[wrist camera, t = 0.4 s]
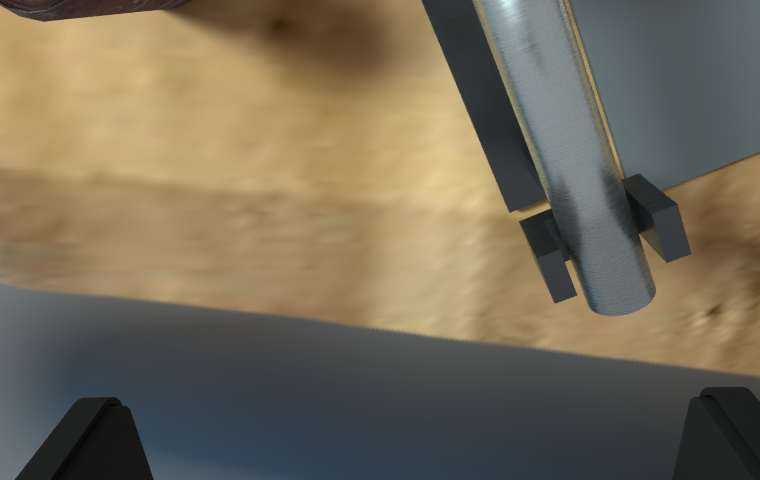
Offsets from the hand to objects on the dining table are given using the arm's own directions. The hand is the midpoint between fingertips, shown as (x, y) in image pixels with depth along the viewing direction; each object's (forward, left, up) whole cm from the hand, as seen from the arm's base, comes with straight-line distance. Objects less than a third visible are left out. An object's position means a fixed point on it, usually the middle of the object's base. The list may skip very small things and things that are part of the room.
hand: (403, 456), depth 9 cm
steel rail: (-7, -3, -16) cm, 17 cm away
